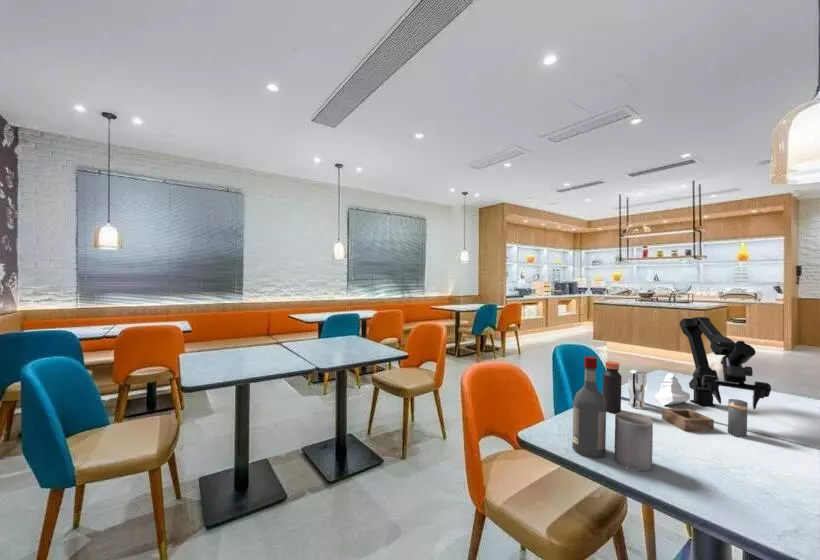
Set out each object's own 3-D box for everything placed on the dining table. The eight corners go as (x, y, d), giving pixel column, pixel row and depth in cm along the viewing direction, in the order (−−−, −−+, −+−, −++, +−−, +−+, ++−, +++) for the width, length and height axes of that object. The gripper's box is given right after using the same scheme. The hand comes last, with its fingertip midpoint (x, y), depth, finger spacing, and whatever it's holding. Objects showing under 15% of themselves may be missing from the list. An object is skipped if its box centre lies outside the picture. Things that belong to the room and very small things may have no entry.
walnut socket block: (661, 419, 141) (662, 408, 141) (688, 418, 142) (688, 408, 142) (685, 431, 130) (685, 420, 130) (713, 430, 131) (713, 419, 131)
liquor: (605, 448, 116) (607, 356, 116) (604, 460, 108) (606, 362, 108) (574, 441, 121) (576, 353, 120) (571, 452, 113) (573, 358, 113)
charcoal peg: (723, 431, 130) (724, 399, 130) (736, 431, 130) (737, 398, 130) (737, 438, 125) (738, 404, 125) (751, 438, 125) (751, 403, 125)
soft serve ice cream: (646, 404, 161) (641, 372, 165) (670, 404, 166) (665, 372, 169) (674, 407, 150) (668, 372, 153) (699, 406, 154) (693, 372, 158)
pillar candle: (617, 451, 114) (618, 405, 114) (654, 462, 108) (655, 412, 108) (611, 464, 107) (612, 414, 106) (650, 476, 100) (651, 423, 100)
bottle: (616, 407, 153) (617, 361, 152) (624, 413, 146) (625, 365, 145) (599, 407, 153) (600, 360, 153) (606, 413, 146) (607, 364, 146)
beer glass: (645, 410, 149) (646, 375, 149) (626, 406, 154) (627, 372, 153) (647, 406, 155) (647, 371, 155) (628, 402, 159) (629, 368, 159)
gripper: (703, 353, 139) (705, 389, 130) (770, 360, 128) (778, 400, 119) (701, 369, 145) (703, 404, 136) (764, 377, 135) (771, 416, 126)
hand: (737, 406), depth 129 cm, fingers open, 9 cm apart
